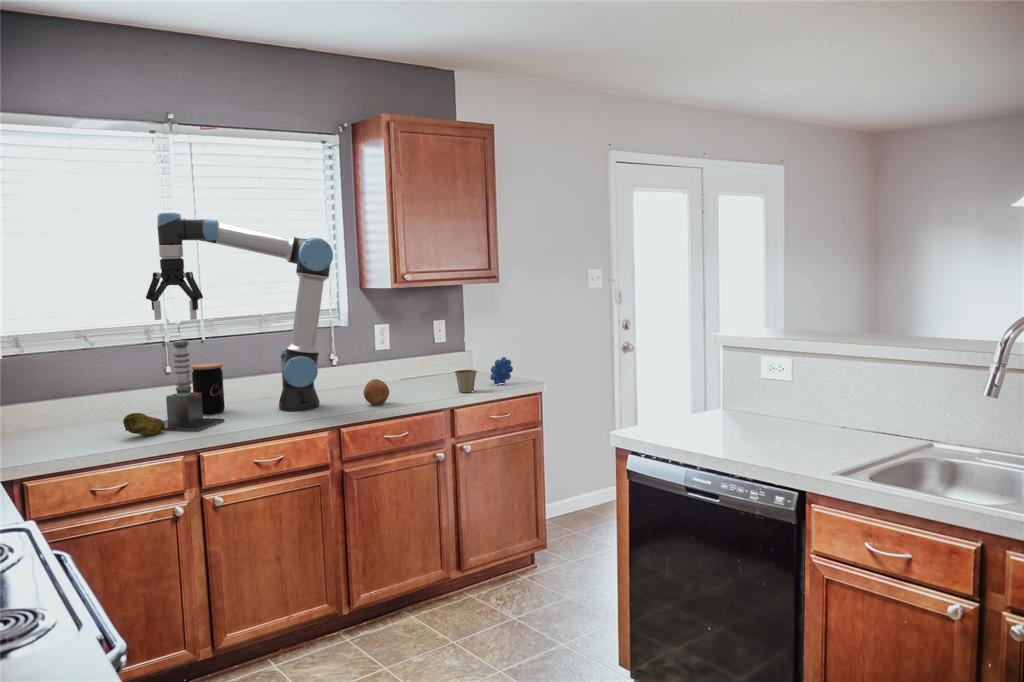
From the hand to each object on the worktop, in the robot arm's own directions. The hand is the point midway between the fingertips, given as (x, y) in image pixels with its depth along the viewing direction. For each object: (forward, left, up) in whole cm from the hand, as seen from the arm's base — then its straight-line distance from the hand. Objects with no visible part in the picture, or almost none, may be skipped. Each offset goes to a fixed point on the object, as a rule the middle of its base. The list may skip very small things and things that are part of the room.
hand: (175, 319), depth 280 cm
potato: (+2, +18, -37) cm, 41 cm away
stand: (-3, +3, -37) cm, 37 cm away
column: (-3, +3, -29) cm, 30 cm away
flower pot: (-83, -72, -37) cm, 116 cm away
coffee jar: (+2, -19, -37) cm, 42 cm away
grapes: (-93, -92, -37) cm, 136 cm away
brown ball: (-56, -41, -37) cm, 79 cm away
